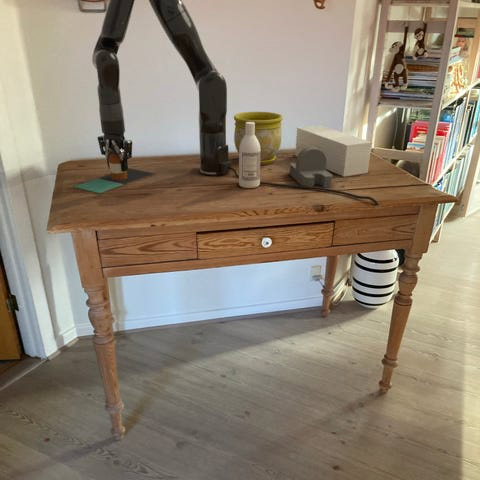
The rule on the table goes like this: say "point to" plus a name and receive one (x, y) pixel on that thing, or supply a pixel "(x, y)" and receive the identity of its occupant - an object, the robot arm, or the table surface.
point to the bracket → (311, 168)
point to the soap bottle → (116, 167)
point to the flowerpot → (261, 132)
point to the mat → (111, 181)
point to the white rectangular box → (336, 149)
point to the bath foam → (249, 158)
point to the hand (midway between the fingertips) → (118, 169)
